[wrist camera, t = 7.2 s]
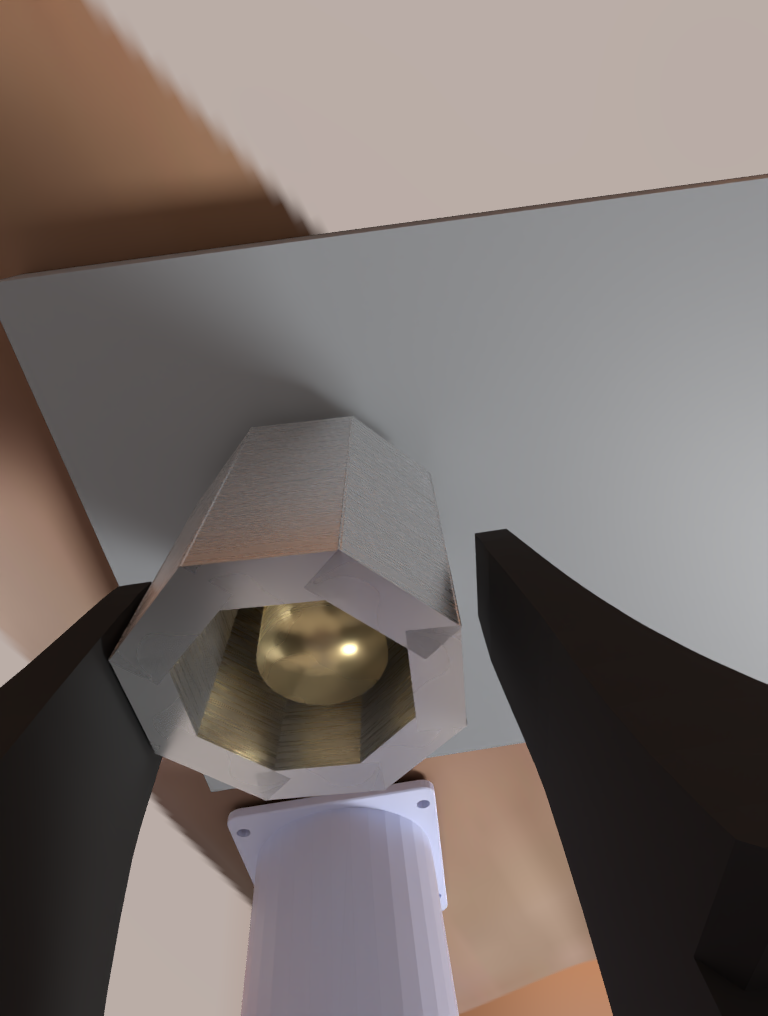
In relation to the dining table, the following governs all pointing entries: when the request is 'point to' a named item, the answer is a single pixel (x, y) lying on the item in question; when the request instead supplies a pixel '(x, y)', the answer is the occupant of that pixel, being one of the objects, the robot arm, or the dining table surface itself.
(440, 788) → the dining table surface
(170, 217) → the dining table surface
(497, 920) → the dining table surface
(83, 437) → the post board
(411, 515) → the steel collar
